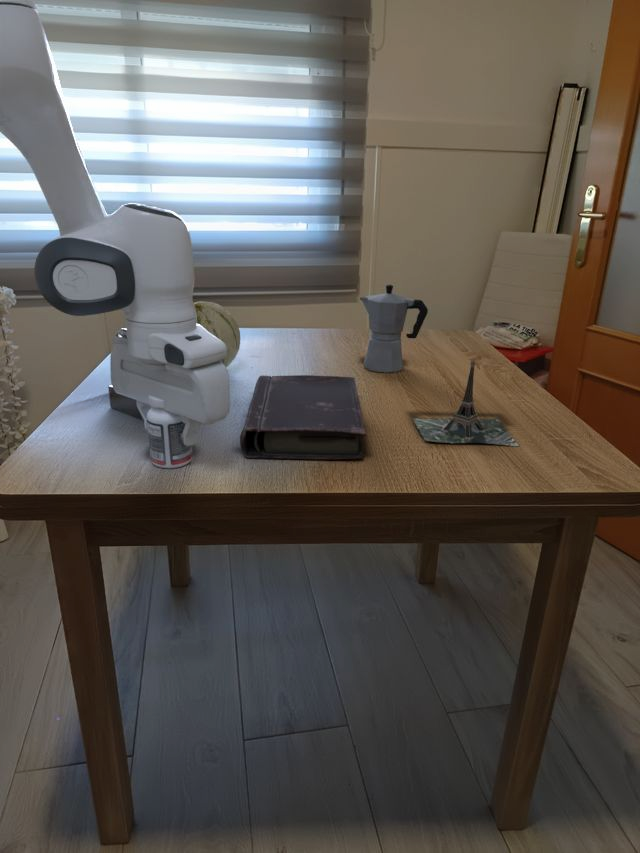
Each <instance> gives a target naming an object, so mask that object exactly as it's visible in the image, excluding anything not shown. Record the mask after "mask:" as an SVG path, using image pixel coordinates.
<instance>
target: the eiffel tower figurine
mask: <svg viewBox="0 0 640 853" xmlns="http://www.w3.org/2000/svg"><path fill="white" fill-rule="evenodd" d="M473 356H475V354H473ZM475 366H476V361H475V358H473V359H472V361H470V369H469V372H468V373H469V374H468V378H467V382H466V387H465V390H464V394H463V398H462V400H461V404H460V406H459V409H458V411H456V413H454V414H453V417H429V418H427V417H425V418H412V420H413V423H414V424H415V426H416V428H417V429H418V431H419V433H420V435H421V436H422V438H423V439H424V441H427V442H434V443H443V444H444V443H445V444H470V445H472V444H488V445H489V444H491V445H501V446H510V447H520V445H519V444H518V442H517V441H516V439H515V438H514V437H513V436H512V434H510V433H509V431H508V430H507V429H506V427H504V425H503V424H502V423H501V421H500V419H498V418H478V415H479V414H477V413H476V411H475V410H476V409H475V405H474V403H475V401H474V398H473V397H474V396H473V395H474V379H475V378H474V376H475Z"/></svg>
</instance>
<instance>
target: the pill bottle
mask: <svg viewBox="0 0 640 853" xmlns="http://www.w3.org/2000/svg"><path fill="white" fill-rule="evenodd" d="M149 404H150V405H151V407H152V408H151V409H150V410H149V411H148V413H147V425H148V430H147V436H148V444H149V445H148V446H149V456H150V462H151V464H153V465H154V466H155V467H158V468H160V469H176V468H181V467H183V466H184V467H185V466H186V465H188V464H189V463H190V462H191V461H192V459H193V445H190V446H186V445H184V444H181V443H180V442H179V439H180V438H179V433H178V432H180V431H183V430H184V428H185V425H186V423H183V421H182V416H180V415H177V414H174V413H172V412H169V411H166V410H164V408H165V407H164V401H163V400H161V399H159V398H156V397H153V396H150V395H149Z"/></svg>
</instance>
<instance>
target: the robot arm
mask: <svg viewBox="0 0 640 853" xmlns="http://www.w3.org/2000/svg"><path fill="white" fill-rule="evenodd" d="M34 1H35V0H0V133H1V134H2V135H3V136H4V137H5V138H6V139H7V140H8V141H10V142H11V143H12V144H13V146H14V147H15V148H16V149H17V150H18V151H19V153H21V155H22V157H24V159H25V160H26V162H27V163H28V165H29V167H30V168H31V171H32V172H33V175H34V176H35V179H36V181H37V183H38V185H39V187H40V189H41V192H42V195H43V196H44V198H45V201H46V203H47V205H48V207H49V210H50V211H51V214H52V216H53V218H54V220H55V223H56V226H57V228H58V231H59V236H57V237H55V238H53V239H52V240H50V241H49V242H48V243H47V244H45V245H44V246H43V247H42V248H41V249H40V251H39V252H38V253H37V256H36V259H35V262H34V268H33V269H34V270H33V272H34V279H35V283H36V286H37V288H38V291H39V292H40V294H41V296H42V297H43V298H44V300H45V301H46V302H47V303H48V304H50V306H52V307H53V308H54V309H56V310H57V311H59V312H61V313H64V314H66V315H69V316H74V317H90V316H96V315H100V314H106V313H110V312H114V311H123V313H124V319H125V320H124V321H125V328H120V329H118V330H117V331H116V333H115V334H114V335H113V338H112V341H113V342H112V343H113V346H111V350H110V361H109V362H110V365H109V366H110V385H112V387H113V388H114V390H115V392H116V393H118V394H121V395H123V396H126V397H129V398H132V399H135V400H136V402H137V407H138V409H139V411H140V413H141V415H142V417H143V419H144V420H143V426H144V430H145V431H148V425H147V413H148V411H149V410H150V409H151V408H152V407H151V405H150V404H149V395H150V396H153V397H156V398H159V399H161V400H163V401H164V407H165V408H164V410H166V411H169V412H172V413H174V414H177V415H180V416H182V421H183V423H186V425H185V428H184V430H183V431H180V432H178V433H179V438H180V439H179V442H180V443H181V444H184V445H186V446H190V445H192V446H193V445H194V444H196V442H197V431H198V429H199V427H200V425H201V424H203V425H206V426H211V425H213V424H215V423H219V422H221V421H223V420H225V419H226V418H227V416H228V415H229V413H230V412H231V409H230V408H231V393H230V392H231V391H230V378H229V373H228V372H229V371H228V369H227V367H225V365H224V364H223V363H222V362H221V361H220V360H222V359H225V358H226V357H227V347H226V345H225V343H224V342H222V341H221V340H219V339H218V338H216V337H215V336H213V335H212V334H211V333H209V332H208V331H207V330H205V329H204V328H203V327H202V326H201V325H199V324H197V314H196V309H195V307H194V304H193V303H194V300H193V295H194V294H193V293H194V288H195V285H196V284H195V283H196V274H195V261H194V260H195V259H194V251H193V244H192V238H191V234H190V230H189V227H188V225H187V223H186V221H185V220H184V219H183V217H181V215H179V214H177V213H176V212H175V211H172V210H169V209H167V208H164V207H159V206H155V205H150V204H143V203H139V202H137V203H136V202H128V203H124V204H122V205H121V206H120V207H119V208H118V209H117V210H115V211H114V212H112V213H111V214H110V215H108V214H107V212H106V210H105V207H104V205H103V203H102V201H101V198H100V196H99V194H98V191H97V189H96V188H97V187H96V186H95V183H94V181H93V179H92V177H91V174H90V171H89V169H88V166H87V164H86V161H85V159H84V157H83V154H82V152H81V149H80V146H79V144H78V142H77V139H76V136H75V132H74V130H73V126H72V123H71V120H70V115H69V112H68V109H67V106H66V101H65V99H64V94H63V91H62V87H61V83H60V80H59V75H58V71H57V68H56V63H55V60H54V57H53V54H52V50H51V48H50V44H49V40H48V38H47V35H46V34H47V33H46V32H45V28H44V25H43V23H42V20H41V17H40V15H39V12H38V9H37V6H36V4H35V2H34Z"/></svg>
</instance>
